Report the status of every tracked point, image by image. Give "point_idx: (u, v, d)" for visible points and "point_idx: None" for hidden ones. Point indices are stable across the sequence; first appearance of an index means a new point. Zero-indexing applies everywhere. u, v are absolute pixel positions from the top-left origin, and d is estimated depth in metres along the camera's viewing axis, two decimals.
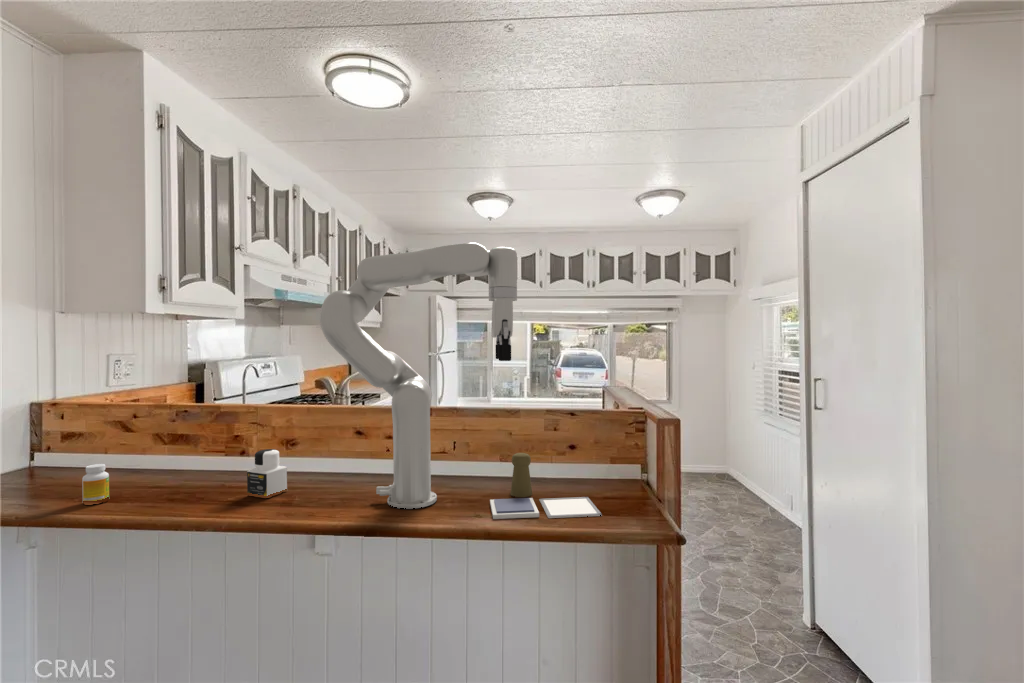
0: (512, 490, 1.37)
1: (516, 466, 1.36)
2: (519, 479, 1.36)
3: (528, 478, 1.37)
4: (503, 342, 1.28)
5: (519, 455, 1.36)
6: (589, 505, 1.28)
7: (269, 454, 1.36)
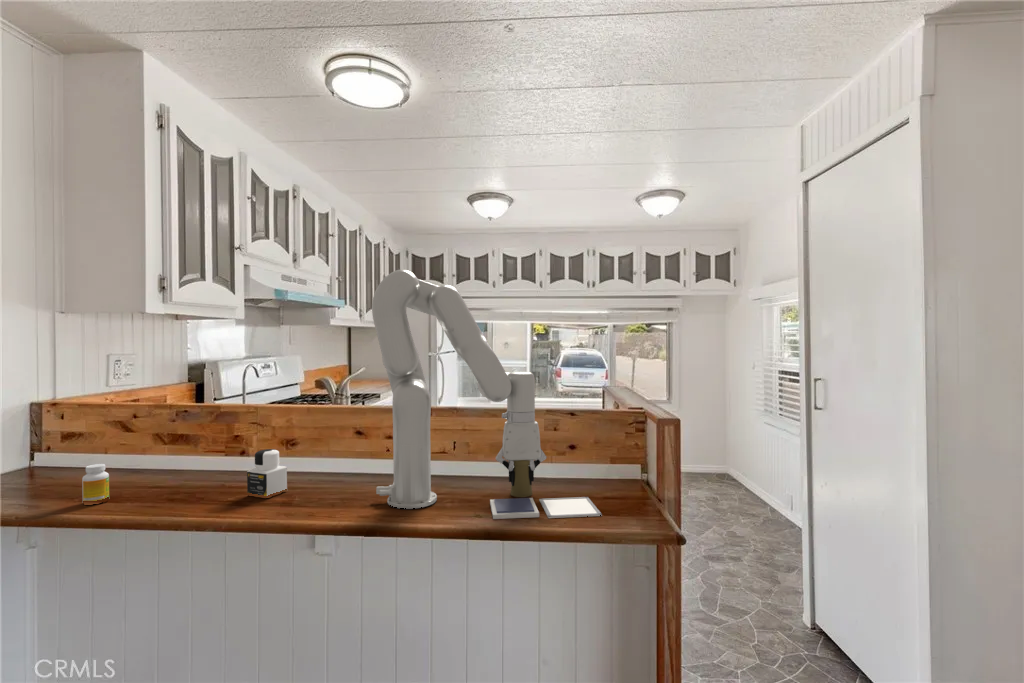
0: (512, 490, 1.37)
1: (516, 466, 1.36)
2: (519, 479, 1.36)
3: (528, 478, 1.37)
4: None
5: None
6: (589, 505, 1.28)
7: (269, 454, 1.36)
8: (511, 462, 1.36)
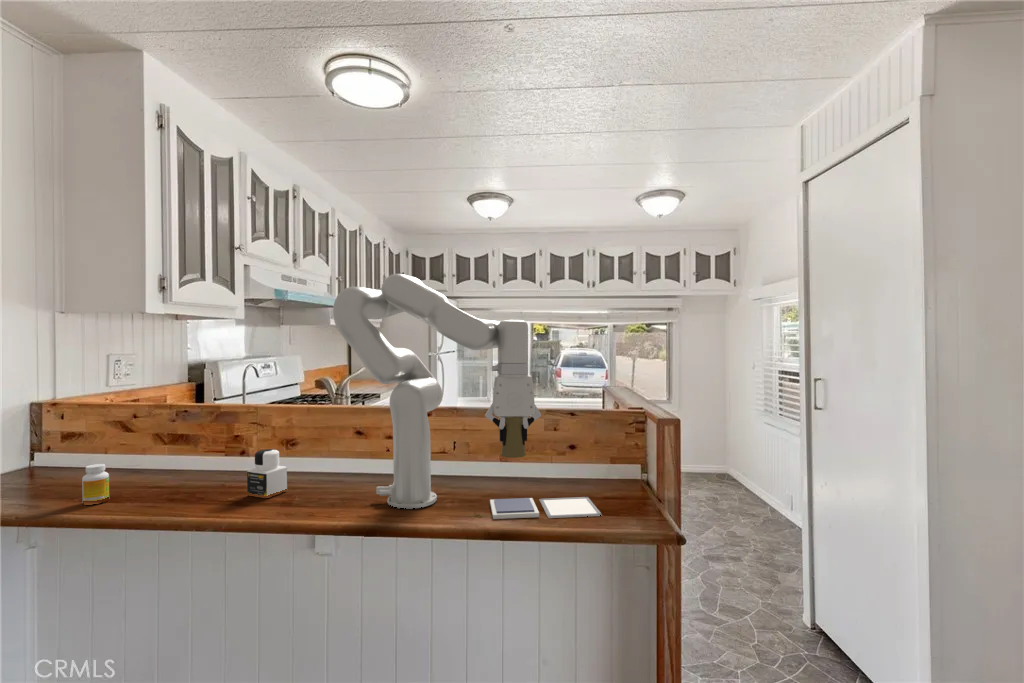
0: (503, 450, 1.24)
1: (508, 423, 1.23)
2: (511, 438, 1.23)
3: (521, 437, 1.24)
4: None
5: None
6: (589, 505, 1.28)
7: (269, 454, 1.36)
8: (502, 419, 1.23)
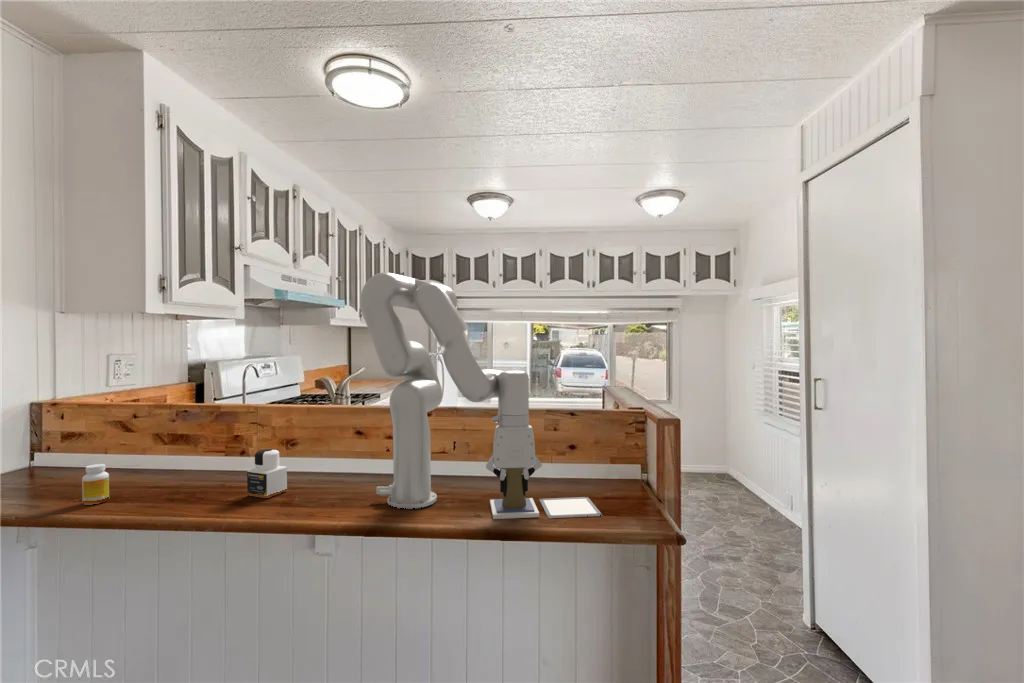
0: (504, 500, 1.24)
1: (508, 474, 1.24)
2: (512, 489, 1.23)
3: (521, 487, 1.24)
4: None
5: None
6: (589, 505, 1.28)
7: (269, 454, 1.36)
8: (503, 470, 1.24)
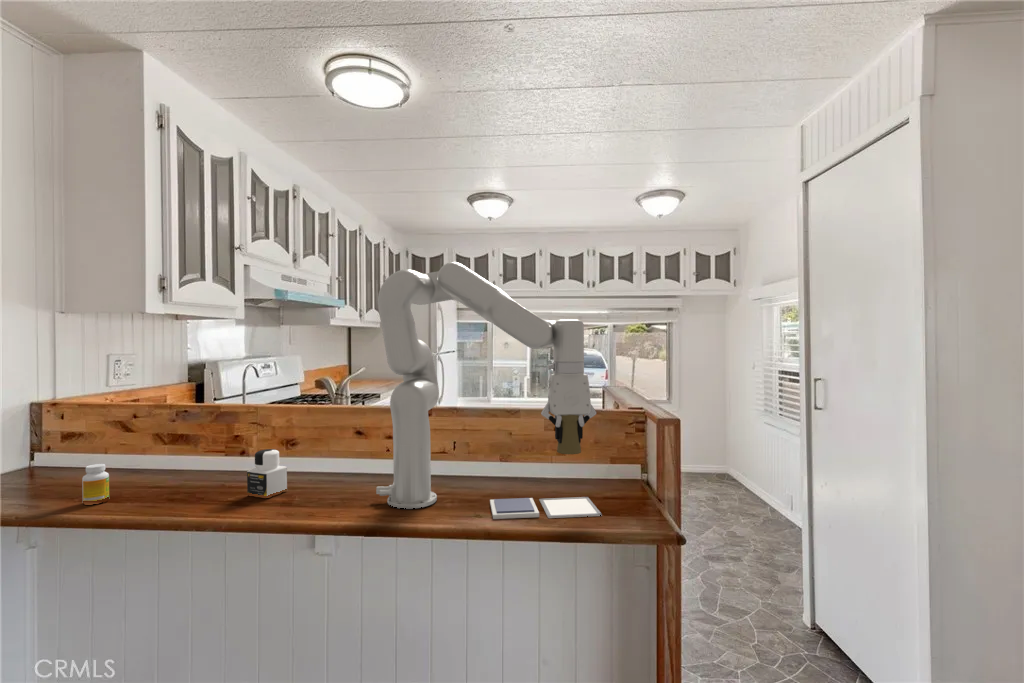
0: (559, 447, 1.25)
1: (564, 421, 1.25)
2: (568, 435, 1.24)
3: (577, 434, 1.25)
4: None
5: None
6: (589, 505, 1.28)
7: (269, 454, 1.36)
8: (558, 417, 1.25)
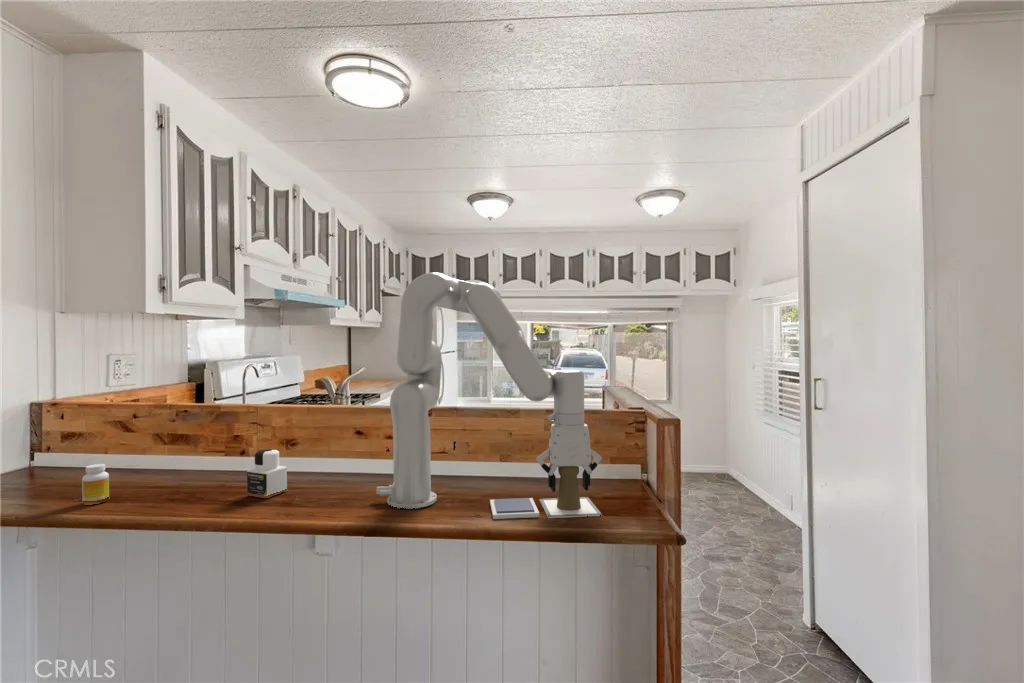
0: (559, 503, 1.26)
1: (564, 476, 1.25)
2: (567, 491, 1.24)
3: (577, 489, 1.25)
4: None
5: None
6: (589, 505, 1.28)
7: (269, 454, 1.36)
8: (554, 466, 1.25)
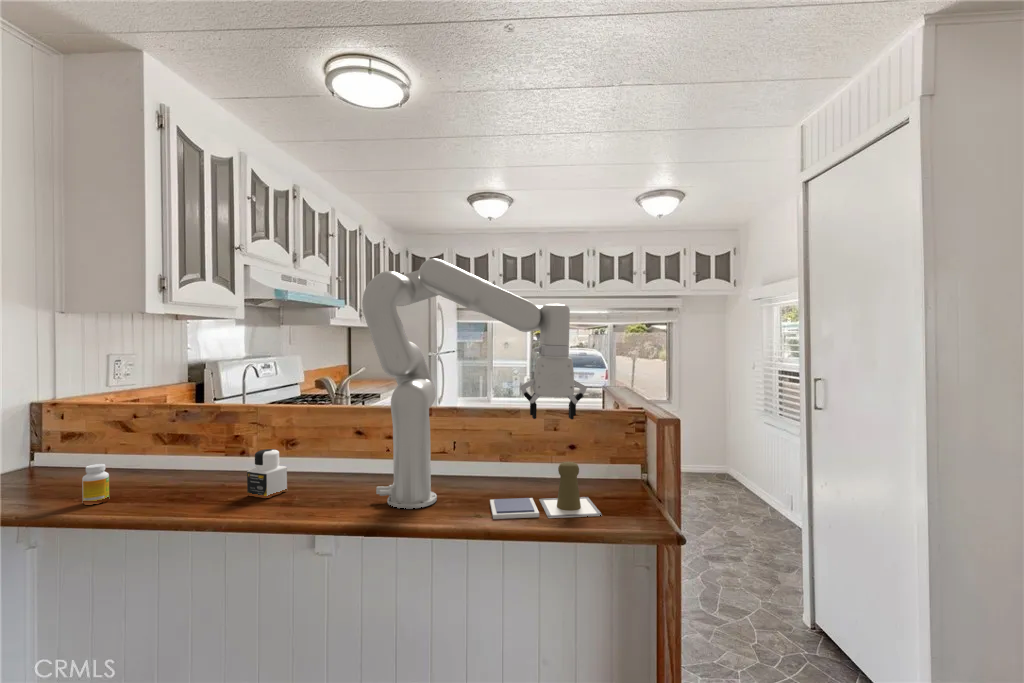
0: (559, 503, 1.26)
1: (564, 476, 1.25)
2: (568, 491, 1.24)
3: (577, 489, 1.25)
4: None
5: (567, 465, 1.25)
6: (589, 505, 1.28)
7: (269, 454, 1.36)
8: (536, 395, 1.29)
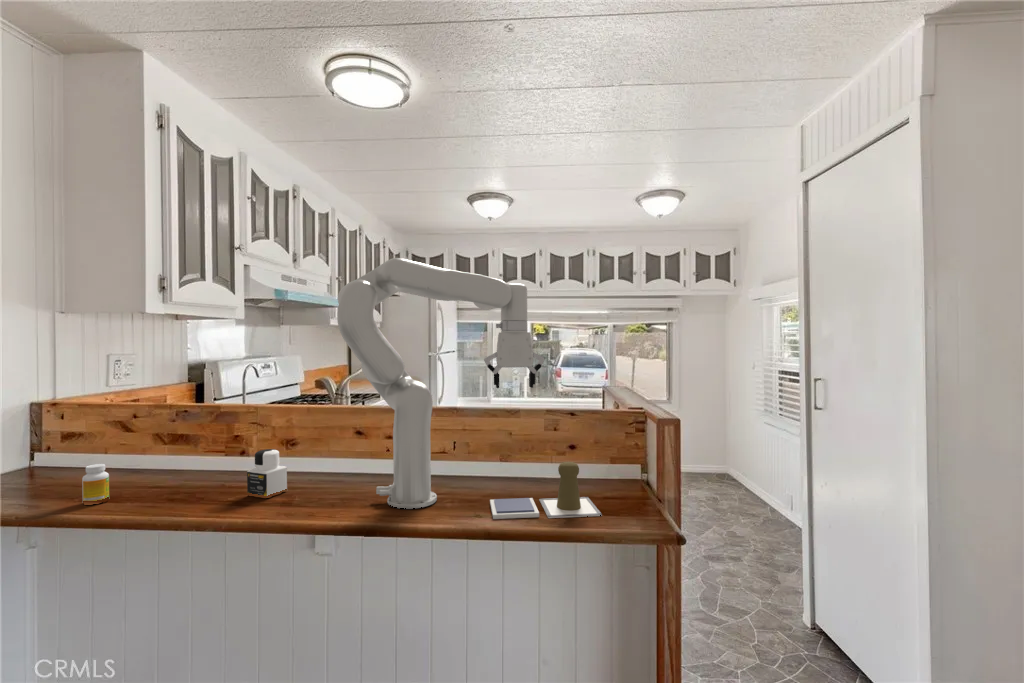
0: (559, 503, 1.26)
1: (564, 476, 1.25)
2: (568, 491, 1.24)
3: (577, 489, 1.25)
4: (537, 370, 1.45)
5: (567, 465, 1.25)
6: (589, 505, 1.28)
7: (269, 454, 1.36)
8: (499, 366, 1.43)
